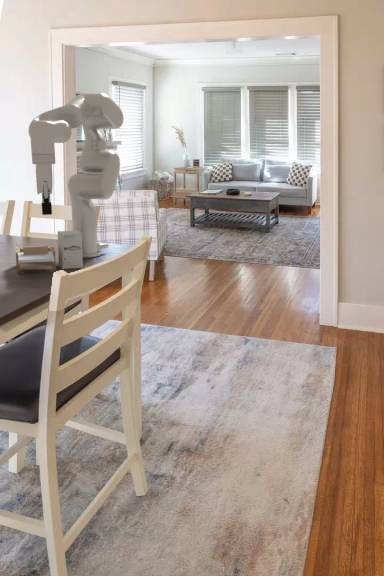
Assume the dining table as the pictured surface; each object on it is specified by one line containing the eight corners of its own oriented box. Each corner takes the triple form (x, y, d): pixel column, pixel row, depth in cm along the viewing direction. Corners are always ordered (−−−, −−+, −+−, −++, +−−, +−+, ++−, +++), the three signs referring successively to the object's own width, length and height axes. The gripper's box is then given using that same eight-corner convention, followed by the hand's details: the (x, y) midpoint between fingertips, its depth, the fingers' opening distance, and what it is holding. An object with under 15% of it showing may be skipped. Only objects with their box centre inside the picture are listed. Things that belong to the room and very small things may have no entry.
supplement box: (62, 269, 202) (61, 234, 199) (58, 265, 209) (57, 230, 205) (83, 268, 205) (82, 233, 202) (78, 264, 212) (77, 229, 208)
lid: (18, 254, 195) (18, 245, 194) (52, 253, 198) (52, 244, 197) (18, 262, 183) (17, 252, 182) (54, 261, 186) (54, 251, 185)
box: (17, 265, 208) (15, 245, 206) (54, 263, 211) (53, 244, 209) (16, 273, 196) (15, 252, 194) (56, 271, 199) (55, 250, 197)
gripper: (32, 158, 197) (35, 211, 202) (31, 161, 183) (35, 218, 188) (54, 157, 199) (57, 210, 204) (56, 160, 185) (59, 217, 190)
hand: (47, 214), depth 196 cm, fingers closed
